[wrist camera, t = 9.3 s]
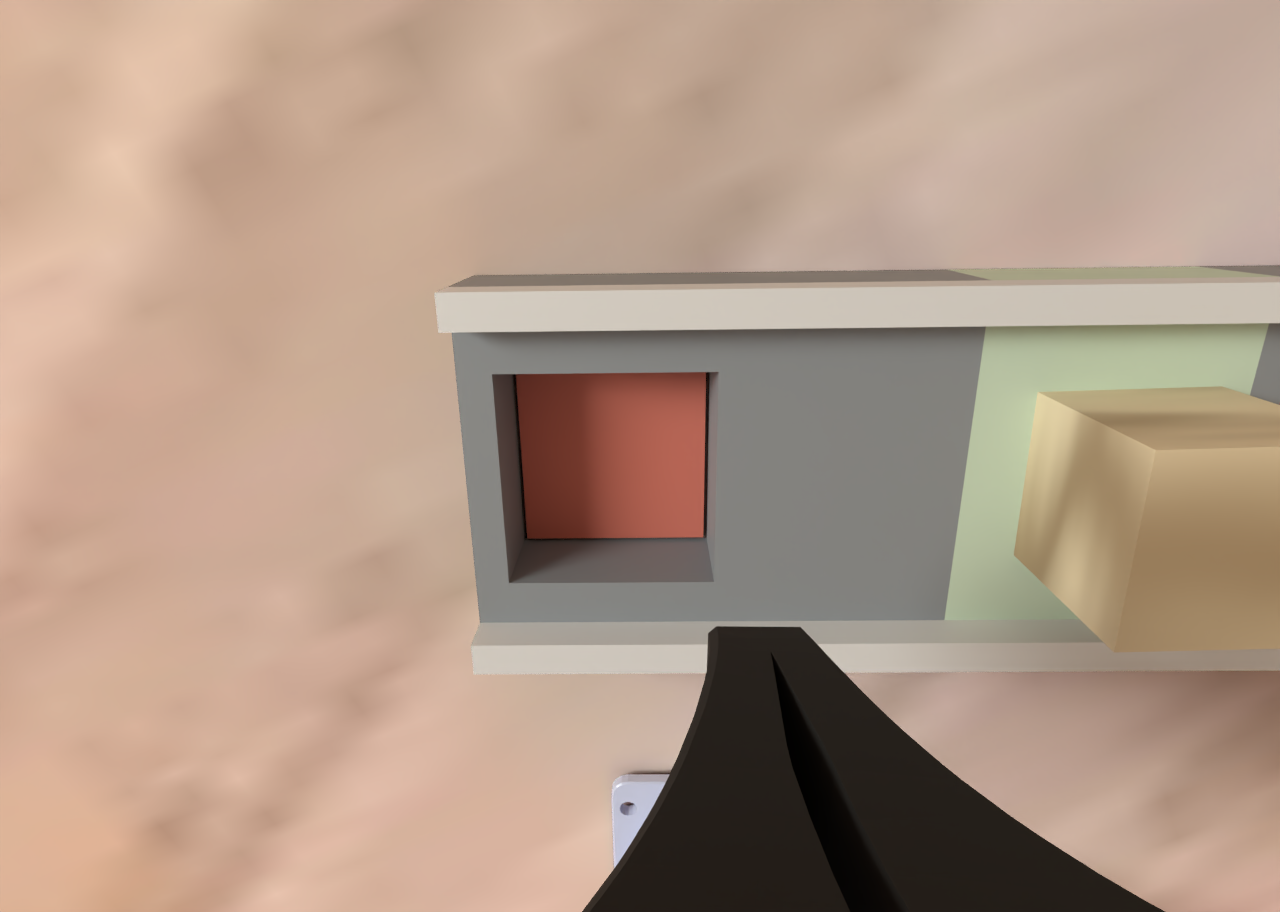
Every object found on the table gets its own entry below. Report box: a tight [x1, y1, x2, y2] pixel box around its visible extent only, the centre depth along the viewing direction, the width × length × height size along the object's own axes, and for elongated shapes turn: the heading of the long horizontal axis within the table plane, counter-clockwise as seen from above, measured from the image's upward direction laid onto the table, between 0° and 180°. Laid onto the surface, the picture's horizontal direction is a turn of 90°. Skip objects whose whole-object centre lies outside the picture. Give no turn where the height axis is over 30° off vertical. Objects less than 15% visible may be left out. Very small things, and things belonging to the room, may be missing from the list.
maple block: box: [1014, 386, 1280, 652], centre depth 15 cm, size 4×4×4 cm
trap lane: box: [434, 265, 1280, 674], centre depth 18 cm, size 9×24×4 cm, turn 91°
